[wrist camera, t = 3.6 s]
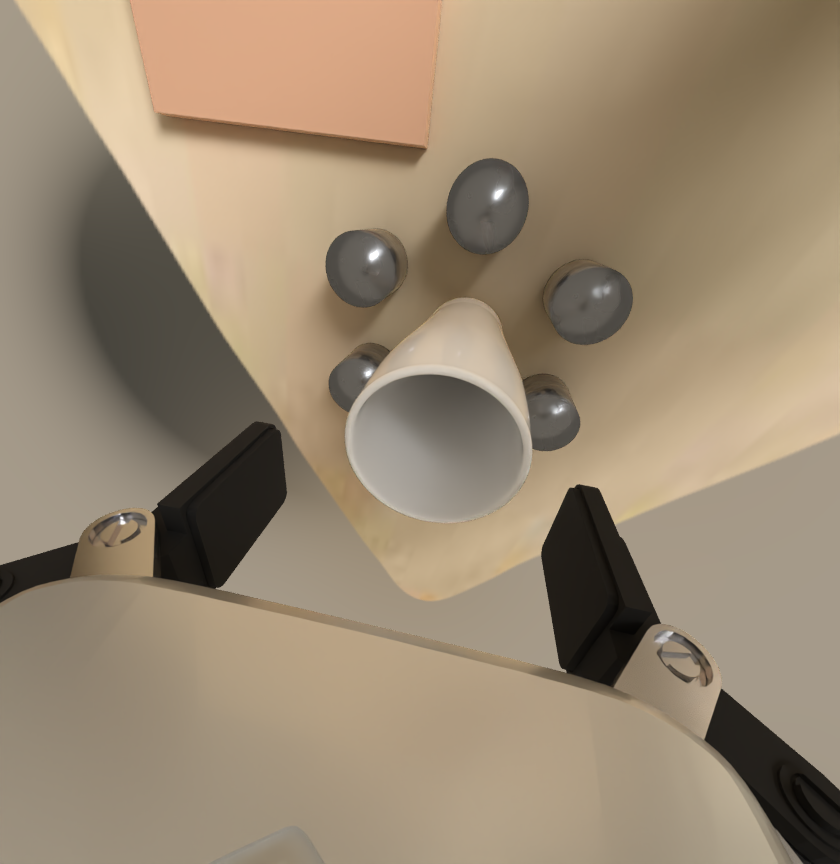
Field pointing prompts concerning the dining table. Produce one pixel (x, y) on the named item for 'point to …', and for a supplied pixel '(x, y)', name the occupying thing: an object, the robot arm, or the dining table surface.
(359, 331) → the dining table surface
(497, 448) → the drinking glass
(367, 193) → the dining table surface
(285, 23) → the terracotta tile
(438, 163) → the dining table surface
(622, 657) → the robot arm
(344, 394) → the spacer posts
